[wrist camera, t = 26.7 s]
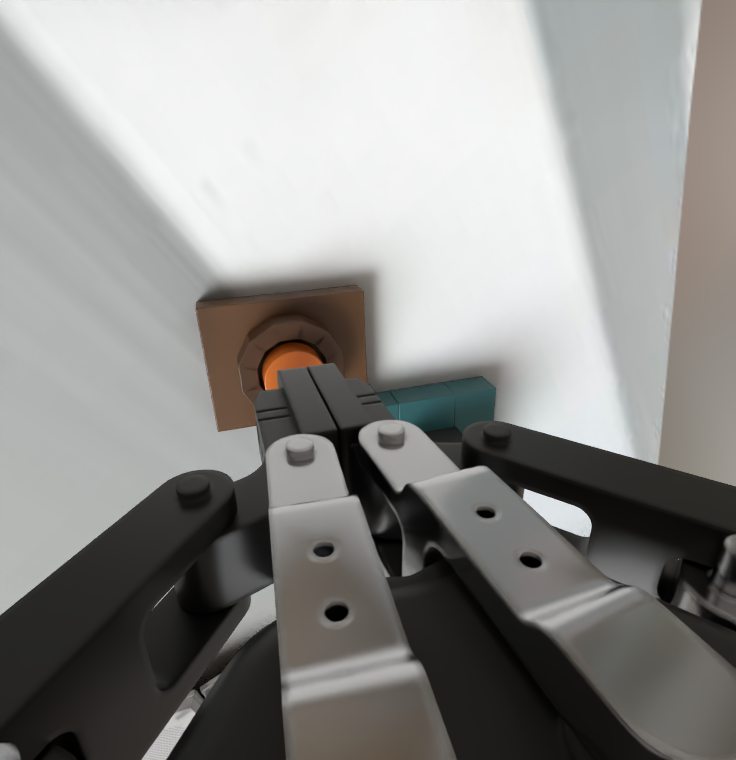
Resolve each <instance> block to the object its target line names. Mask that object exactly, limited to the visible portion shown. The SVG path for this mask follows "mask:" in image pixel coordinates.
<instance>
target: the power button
mask: <svg viewBox="0 0 736 760" xmlns="http://www.w3.org/2000/svg"><path fill="white" fill-rule="evenodd" d="M322 364H323V363H322V361H321V359H320V357H319V355H318V354H317V353H316V351H315V350H314V349H312V348H311V347H309V346H308V345H305V344H302V343H297V342H290V343H285V344H282V345H280V346H278V347H276V348H275V349H273V350H272V351H271V352H270V353H269V354H268V356H267V357H266V359H265V361H264V363H263V367H262V376H263V380H264V385H265V389H266V390H271V389H278V382H277V370H283V369H291V368H299V367H307V366H314V365H322Z"/></svg>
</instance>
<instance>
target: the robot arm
mask: <svg viewBox="0 0 736 760" xmlns="http://www.w3.org/2000/svg"><path fill="white" fill-rule="evenodd" d="M277 382H278V389H271V390H264V391H260V392H259V393H258V395H257V396H256V398H255V400H254V409H255V417H256V425H257V433H258V442H259V450H260V456H261V460H262V465H261V466H260V467H259V468H258V469H257V470H256V471H255V472H253V473H252V474H250V475H249V476H247V477H245V478H242V479H240V480H238V481H235V482H233V480H232V479H231V478H230V477H229V476H228V475H227V474H225V473H223V472H220V471H215V470H196V471H191V472H187V473H184V474H181V475H178V476H176V477H174V478H172V479H170V480H168V481H167V482H165V483H164V484H163V485H161V486H160V487H159V488H158V489H156V490H155V491H154V492H153V493H151V494H150V495H149V496H148V497H146V498H145V499H144V500H143V501H141V502H140V503H139V504H138V505H136V506H135V507H134V508H133V509H132V510H130V511H129V512H128V513H127V514H125V515H124V516H123V517H122V518H120V519H119V520H118V521H117V522H115V523H114V524H113V525H112V526H110V527H109V528H108V529H107V530H106V531H104V532H103V533H102V534H101V535H99V536H98V537H97V538H96V539H94V540H93V541H92V542H91V543H89V544H88V545H87V546H86V547H84V548H83V549H82V550H81V551H79V552H78V553H77V554H76V555H75V556H73V557H72V558H71V559H70V560H68V561H67V562H66V563H65V564H63V565H62V566H61V567H60V568H58V569H57V570H56V571H55V572H53V573H52V574H51V575H50V576H48V577H47V578H46V579H45V580H44V581H42V582H41V583H40V584H39V585H37V586H36V587H35V588H34V589H32V590H31V591H30V592H29V593H27V594H26V595H25V596H24V597H22V598H21V599H20V600H19V601H17V602H16V603H15V604H14V605H13V606H11V607H10V608H9V609H8V610H6V611H5V612H4V613H3V614H1V615H0V760H142V758H143V757H144V755H145V754H146V753H147V751H148V750H149V748H150V747H151V746H152V744H153V743H154V741H155V740H156V739H157V737H158V736H159V734H160V733H161V732H162V730H163V729H164V727H165V726H166V725H167V723H168V722H169V720H170V719H171V718H172V716H173V715H174V714H175V712H176V711H177V709H178V708H179V707H180V705H181V704H182V702H183V701H184V700H185V698H186V697H187V695H188V694H189V693H190V691H191V690H192V688H193V687H194V686H195V684H196V683H197V681H198V680H199V679H200V677H201V676H202V674H203V673H204V672H205V670H206V669H207V667H208V666H209V665H210V663H211V662H212V660H213V659H214V658H215V656H216V655H217V653H218V652H219V651H220V649H221V648H222V646H223V645H224V644H225V642H226V641H227V639H228V638H229V637H230V635H231V634H232V632H233V631H234V630H235V628H236V627H237V625H238V624H239V623H240V621H241V620H242V618H243V617H244V616H245V614H246V613H247V611H248V609H249V606H250V602H251V595H252V594H254V593H256V592H258V591H260V590H262V589H263V588H265V587H267V586H269V585H271V584H273V583H274V591H275V604H276V617H277V620H275V621H274V622H272V623H271V624H269V625H267V626H266V627H264V628H263V629H262V630H260V631H259V632H258V633H257V634H255V635H254V636H253V637H252V638H251V639H250V640H249V641H248V642H247V643H246V644H245V645H244V646H243V647H241V648H240V649H239V651H238V652H237V653H236V654H235V656H234V657H233V658H232V659H231V660H230V662H229V663H228V664H227V666H226V667H225V668H224V670H223V671H222V673H221V674H220V676H219V677H218V679H217V680H216V682H215V684H214V685H213V687H212V688H211V690H210V691H209V693H208V695H207V696H206V698H205V699H204V701H203V703H202V704H201V706H200V707H199V709H198V710H197V712H196V714H195V715H194V717H193V718H192V720H191V721H190V723H189V725H188V726H187V728H186V729H185V731H184V732H183V734H182V736H181V737H180V739H179V740H178V742H177V743H176V745H175V747H174V748H173V750H172V751H171V753H170V754H169V756H168V757H167V759H166V760H736V487H735V486H732V485H728V484H724V483H721V482H717V481H714V480H710V479H707V478H703V477H699V476H696V475H692V474H689V473H685V472H681V471H678V470H674V469H670V468H667V467H663V466H660V465H656V464H653V463H649V462H645V461H642V460H638V459H635V458H631V457H627V456H624V455H620V454H617V453H613V452H609V451H606V450H602V449H599V448H595V447H591V446H588V445H584V444H581V443H577V442H574V441H570V440H566V439H563V438H559V437H556V436H552V435H548V434H545V433H541V432H538V431H534V430H530V429H527V428H523V427H520V426H516V425H512V424H509V423H505V422H499V421H481V422H476V423H473V424H471V425H469V426H467V427H466V428H465V429H464V431H463V437H462V443H440V442H433V441H432V440H431V439H430V438H429V437H428V436H427V435H426V434H425V433H424V432H423V431H422V430H421V429H420V428H418V427H417V426H415V425H414V424H411V423H408V422H405V421H400V420H395V418H394V417H393V416H392V414H391V413H390V412H389V410H388V409H387V408H386V406H385V405H384V404H383V402H381V400H380V398H379V397H378V396H377V395H376V393H375V392H374V390H373V389H372V388H371V386H370V385H369V384H367V383H365V382H363V381H361V380H359V379H358V378H350V379H345V378H344V377H343V375H342V374H341V372H340V371H339V369H338V368H337V366H336V365H335V363H329V364H322V365H314V366H307V367H299V368H291V369H283V370H277ZM524 489H527V490H530V491H533V492H536V493H539V494H542V495H545V496H548V497H551V498H554V499H557V500H560V501H562V502H565V503H568V504H571V505H574V506H576V507H579V508H580V509H582V510H583V511H584V512H585V513H586V514H587V515H588V516H589V518H590V520H591V523H592V529H591V534H590V537H581V536H578V535H575V534H573V533H570V532H567V531H565V530H562V529H559V528H557V527H554V526H551V525H550V524H549V523H548V522H547V521H546V520H545V519H544V518H543V517H541V516H540V515H539V514H538V513H537V512H536V511H535V510H534V509H533V508H532V507H531V506H530V505H528V504H527V503H526V502H525V501H524V500H523V494H524ZM678 559H679V560H678ZM173 585H174V587H173ZM172 587H173V588H172ZM171 588H172V589H171ZM170 589H171V590H170ZM169 590H170V591H169ZM168 591H169V593H168V594H167V595H166V596H165V597H164V598H163V599H162V600H161V601H160V599H161V598H162V597H163V596H164V595H165V594H166V593H167V592H168ZM159 601H160V602H159ZM158 602H159V603H158ZM157 603H158V604H157ZM156 604H157V606H156V607H155V608H154V606H155V605H156ZM153 608H154V609H153ZM152 609H153V610H152Z"/></svg>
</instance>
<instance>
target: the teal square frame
mask: <svg viewBox="0 0 736 760" xmlns="http://www.w3.org/2000/svg"><path fill="white" fill-rule="evenodd" d="M495 394H496V388H495V387H494V386H493V385H492V384H491V383H489V382H488V381H487V380H486V379H484V378H483V377H482V376H481V377H474V378H468V379H462V380H455V381H449V382H443V383H436V384H430V385H424V386H417V387H411V388H404V389H398V390H392V391H386V392H380V393H376V395H377V396H378V397H379V398H380V400H381V402H383V404H384V405H385V406H386V408H387V409H388V410H389V412H390V413H391V414H392V416H393V417H394V418H395V420H400V421H405V422H408V423H411V424H414V425H415V426H417V427H418V428H420V429H421V430H422V431H423V432H430V431H435V430H441V429H446V428H452V427H457V428H458V429H459V430H460V431H461V433H462V434H463V431H464V429H465V428H466V427H467V426H469V425H471V424H473V423H476V422H481V421H493V419H494V406H495Z"/></svg>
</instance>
